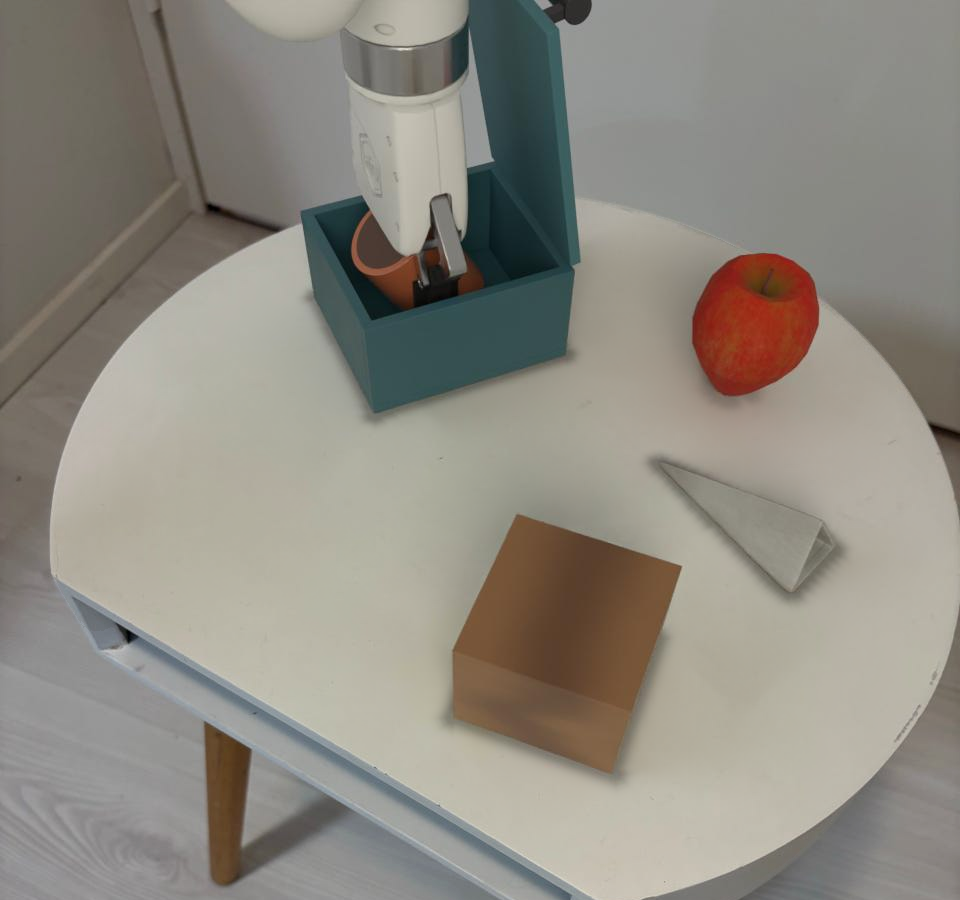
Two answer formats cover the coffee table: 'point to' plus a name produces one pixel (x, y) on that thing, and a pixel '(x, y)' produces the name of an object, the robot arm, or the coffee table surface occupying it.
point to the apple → (754, 322)
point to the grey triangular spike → (761, 527)
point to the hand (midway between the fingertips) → (418, 290)
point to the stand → (561, 641)
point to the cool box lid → (529, 105)
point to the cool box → (451, 322)
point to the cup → (399, 265)
